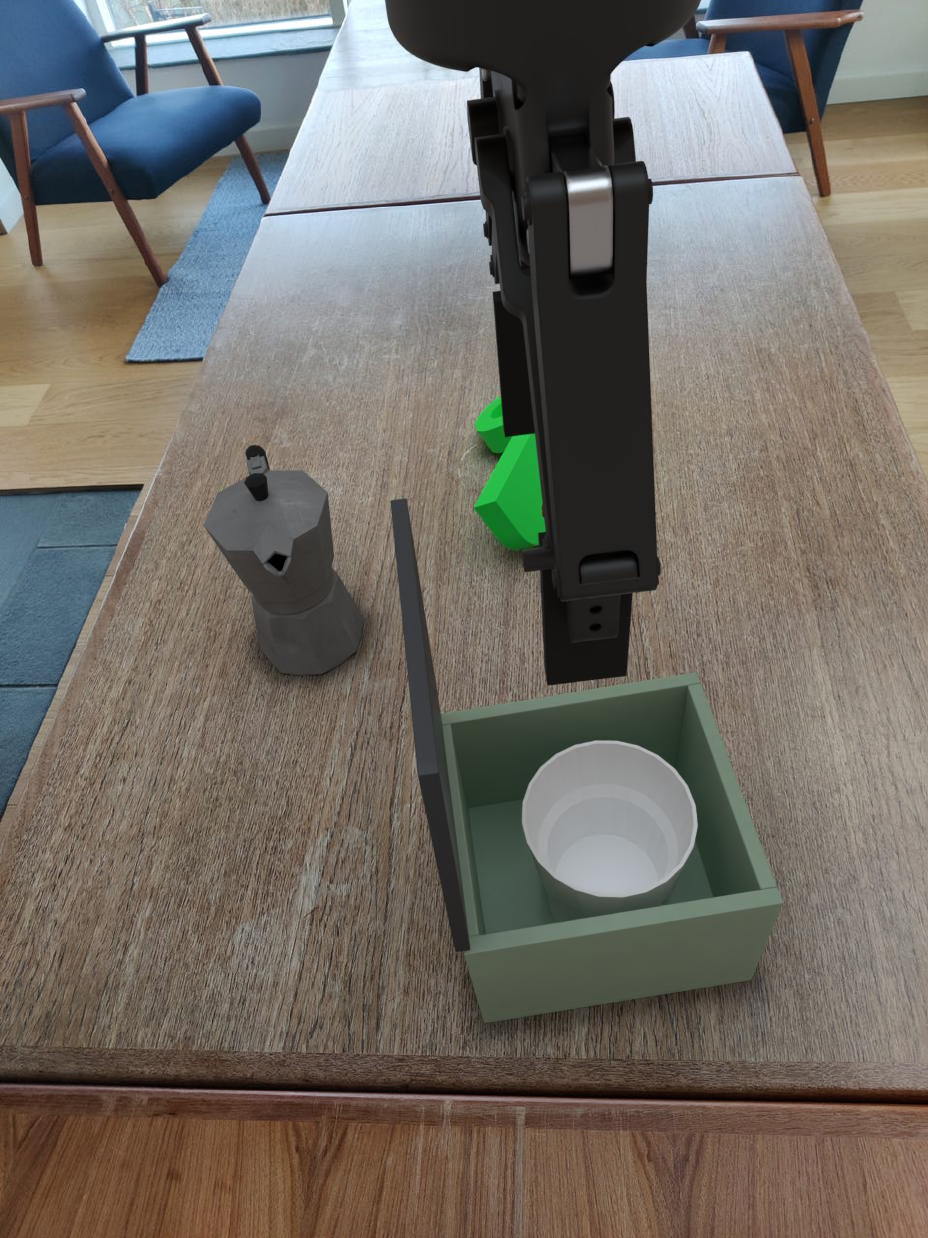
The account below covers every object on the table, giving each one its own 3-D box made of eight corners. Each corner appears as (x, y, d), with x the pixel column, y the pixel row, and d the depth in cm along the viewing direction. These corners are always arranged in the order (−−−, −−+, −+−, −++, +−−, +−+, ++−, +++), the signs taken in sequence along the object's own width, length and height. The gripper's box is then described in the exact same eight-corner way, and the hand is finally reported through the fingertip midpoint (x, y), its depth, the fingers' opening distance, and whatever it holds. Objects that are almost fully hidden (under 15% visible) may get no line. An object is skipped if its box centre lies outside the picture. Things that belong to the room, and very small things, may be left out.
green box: (681, 769, 65) (697, 671, 56) (751, 980, 55) (783, 903, 46) (455, 805, 65) (434, 714, 56) (484, 1023, 55) (464, 955, 46)
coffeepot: (381, 678, 73) (334, 519, 60) (270, 710, 72) (196, 556, 59) (346, 554, 83) (299, 394, 70) (248, 581, 82) (181, 424, 69)
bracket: (525, 450, 96) (489, 397, 93) (602, 424, 90) (565, 366, 86) (457, 579, 85) (412, 524, 81) (539, 560, 78) (494, 499, 75)
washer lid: (406, 497, 42) (390, 499, 42) (439, 772, 32) (417, 776, 32) (440, 709, 56) (427, 710, 56) (470, 950, 46) (455, 953, 46)
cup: (708, 862, 59) (726, 787, 52) (638, 993, 54) (646, 931, 47) (577, 793, 63) (576, 715, 56) (502, 908, 59) (489, 840, 51)
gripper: (361, -238, 27) (442, 366, 43) (362, 20, 11) (492, 836, 27) (607, -274, 27) (596, 346, 43) (995, -69, 10) (741, 807, 26)
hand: (556, 535), depth 35 cm, fingers open, 13 cm apart
